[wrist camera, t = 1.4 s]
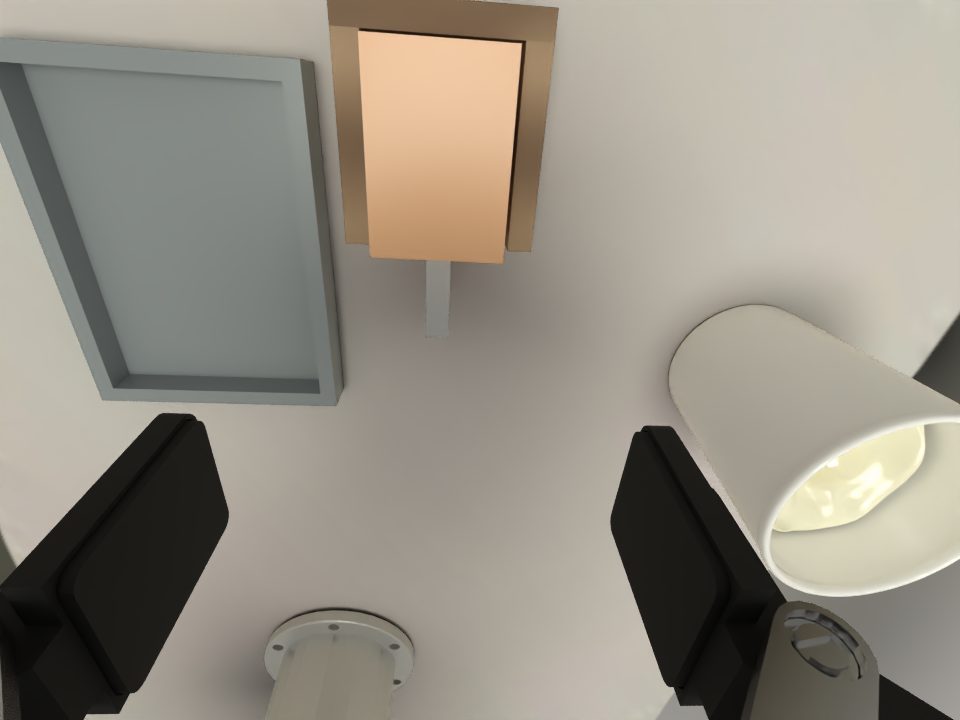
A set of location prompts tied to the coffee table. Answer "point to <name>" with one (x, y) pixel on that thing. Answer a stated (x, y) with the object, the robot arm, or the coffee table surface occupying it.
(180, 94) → the tray
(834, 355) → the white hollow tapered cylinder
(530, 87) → the frame
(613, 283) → the coffee table surface
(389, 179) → the peach slab with tab
